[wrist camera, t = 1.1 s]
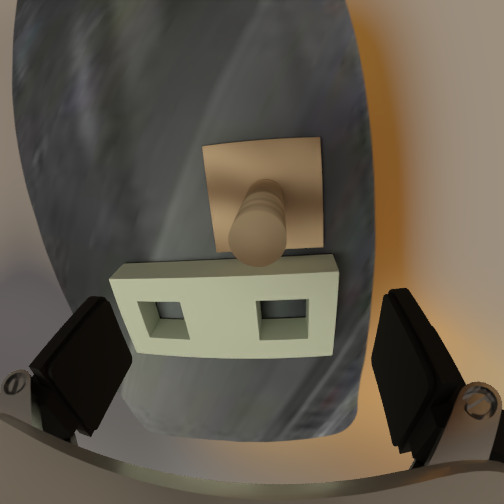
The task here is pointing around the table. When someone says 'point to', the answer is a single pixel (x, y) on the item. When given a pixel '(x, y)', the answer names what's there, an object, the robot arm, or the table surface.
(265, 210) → the peg
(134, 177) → the table surface
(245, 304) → the hole block
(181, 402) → the table surface
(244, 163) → the cork mat
